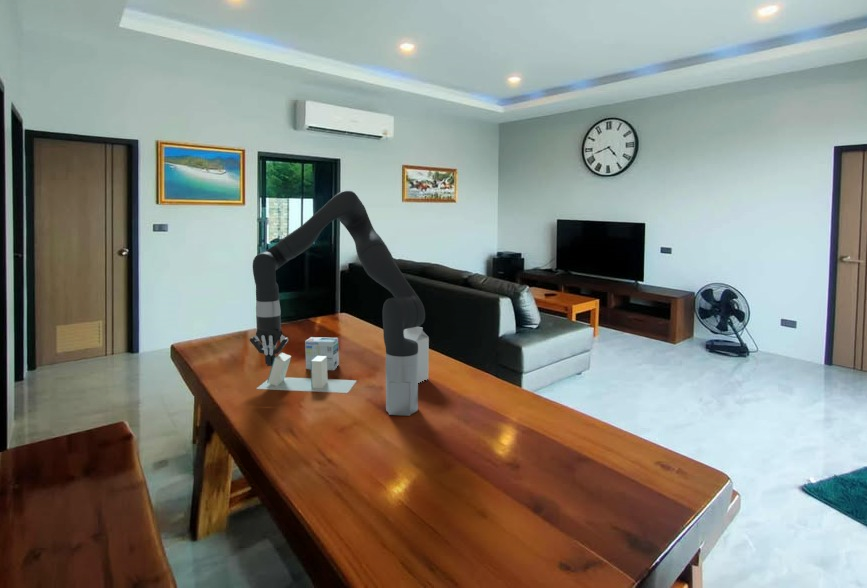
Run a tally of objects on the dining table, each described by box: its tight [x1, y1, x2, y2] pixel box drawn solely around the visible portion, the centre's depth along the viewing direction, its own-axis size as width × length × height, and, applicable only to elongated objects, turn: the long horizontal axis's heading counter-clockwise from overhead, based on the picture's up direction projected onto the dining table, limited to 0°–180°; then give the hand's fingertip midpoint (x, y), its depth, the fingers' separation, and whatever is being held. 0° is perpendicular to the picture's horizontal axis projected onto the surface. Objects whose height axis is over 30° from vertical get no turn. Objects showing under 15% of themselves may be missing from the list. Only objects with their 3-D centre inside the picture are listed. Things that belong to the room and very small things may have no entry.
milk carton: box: [403, 326, 430, 384], centre depth 174 cm, size 7×7×19 cm
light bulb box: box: [304, 336, 340, 371], centre depth 188 cm, size 11×7×11 cm, turn 84°
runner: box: [256, 376, 358, 394], centre depth 170 cm, size 12×30×1 cm, turn 84°
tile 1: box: [267, 352, 292, 386], centre depth 170 cm, size 6×4×9 cm, turn 174°
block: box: [310, 356, 329, 388], centre depth 168 cm, size 6×4×9 cm, turn 174°
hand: (270, 365), depth 169 cm, fingers closed
